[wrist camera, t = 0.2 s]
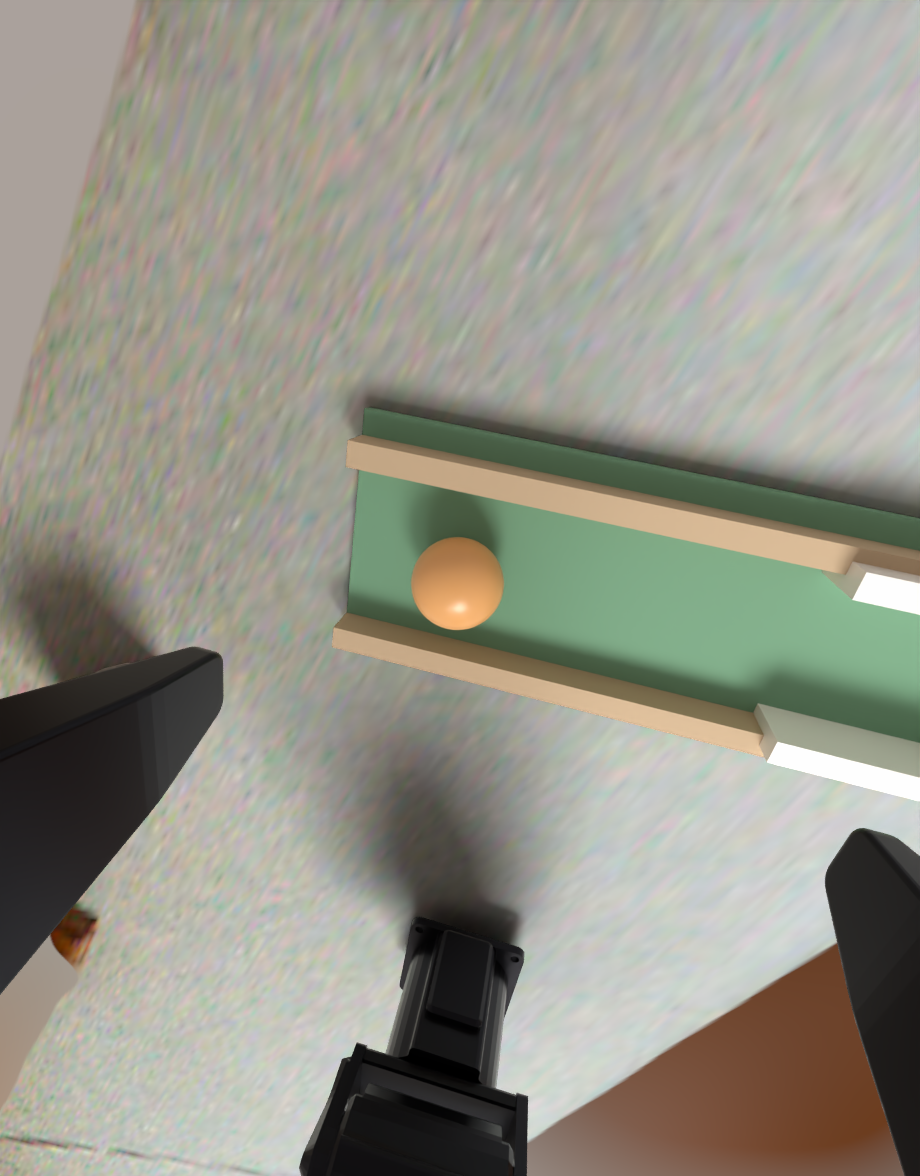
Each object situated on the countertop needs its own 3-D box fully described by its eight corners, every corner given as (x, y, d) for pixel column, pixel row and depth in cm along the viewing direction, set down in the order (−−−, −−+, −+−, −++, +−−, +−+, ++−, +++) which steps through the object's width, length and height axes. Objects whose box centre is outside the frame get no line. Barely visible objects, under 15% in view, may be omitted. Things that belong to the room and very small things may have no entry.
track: (973, 802, 23) (1008, 841, 21) (348, 643, 26) (330, 666, 24) (1153, 565, 18) (1219, 589, 17) (369, 407, 22) (349, 412, 20)
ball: (499, 614, 23) (487, 657, 20) (419, 595, 24) (394, 633, 21) (517, 536, 22) (506, 568, 19) (430, 517, 22) (405, 545, 19)
